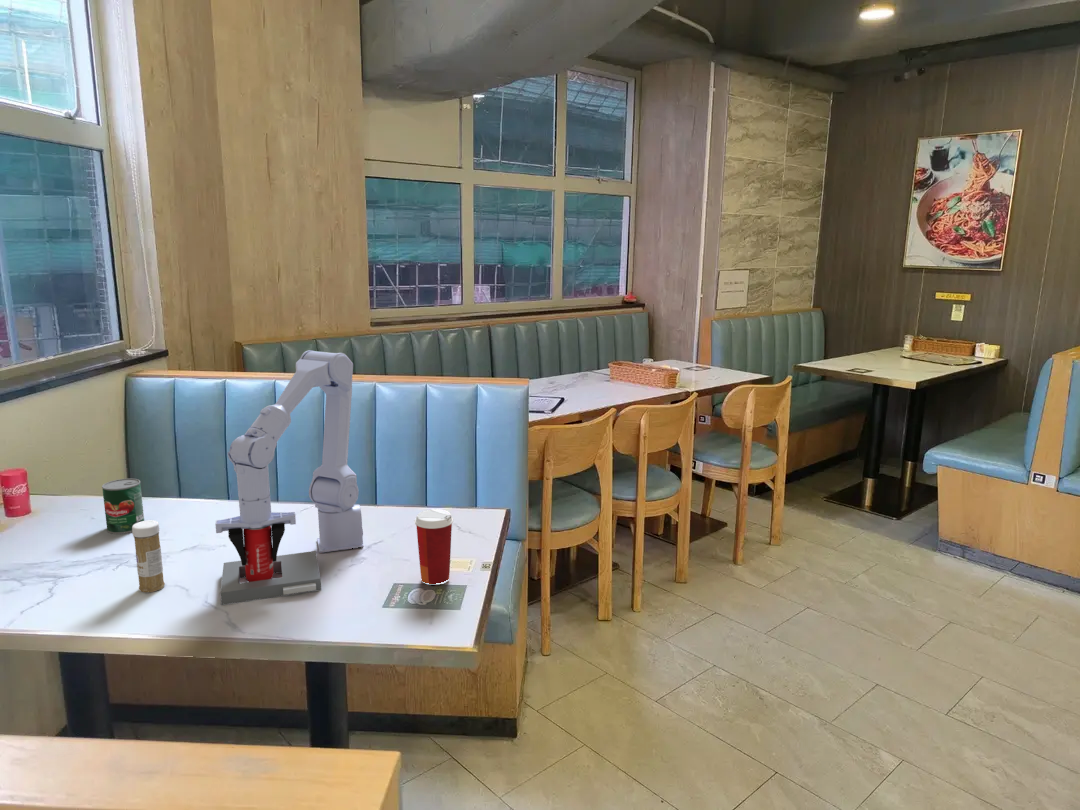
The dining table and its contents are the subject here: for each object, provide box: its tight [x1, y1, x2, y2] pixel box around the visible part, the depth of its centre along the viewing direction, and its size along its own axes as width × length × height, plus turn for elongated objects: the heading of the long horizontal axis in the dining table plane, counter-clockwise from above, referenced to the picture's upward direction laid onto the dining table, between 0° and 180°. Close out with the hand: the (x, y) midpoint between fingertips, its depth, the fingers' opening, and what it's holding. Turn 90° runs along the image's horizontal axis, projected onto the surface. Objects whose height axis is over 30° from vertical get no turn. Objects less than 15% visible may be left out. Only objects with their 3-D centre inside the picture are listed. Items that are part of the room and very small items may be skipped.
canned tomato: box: [101, 478, 145, 535], centre depth 171 cm, size 8×8×11 cm
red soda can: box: [243, 526, 274, 582], centre depth 144 cm, size 5×5×12 cm
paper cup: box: [413, 508, 454, 584], centre depth 145 cm, size 8×8×14 cm
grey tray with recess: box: [219, 550, 322, 606], centre depth 144 cm, size 18×15×2 cm
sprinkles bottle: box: [131, 519, 166, 593], centre depth 140 cm, size 5×5×14 cm
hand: (259, 561), depth 143 cm, fingers closed on red soda can, 5 cm apart
